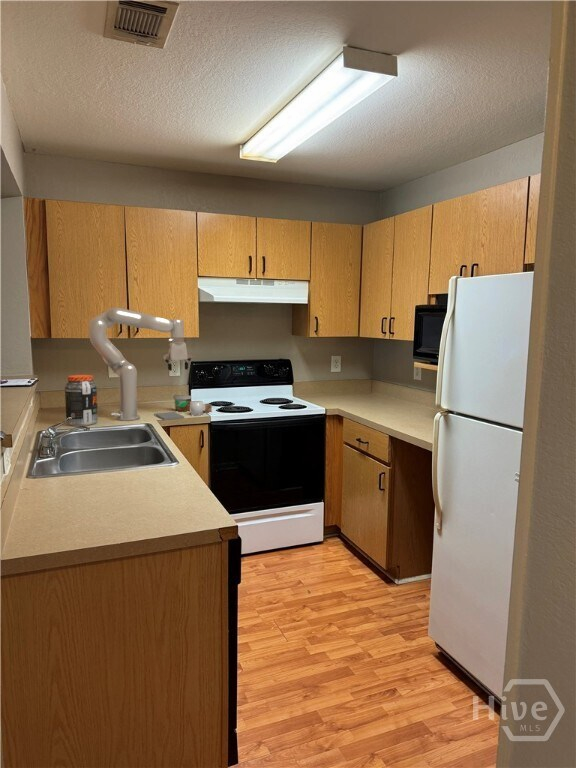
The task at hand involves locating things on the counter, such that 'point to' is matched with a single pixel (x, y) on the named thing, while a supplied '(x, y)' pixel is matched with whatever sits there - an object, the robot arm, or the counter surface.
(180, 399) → the food container
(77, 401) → the supplement tub
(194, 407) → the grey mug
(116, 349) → the robot arm
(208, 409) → the walnut block
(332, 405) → the counter surface
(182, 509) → the counter surface
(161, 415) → the slate mat
